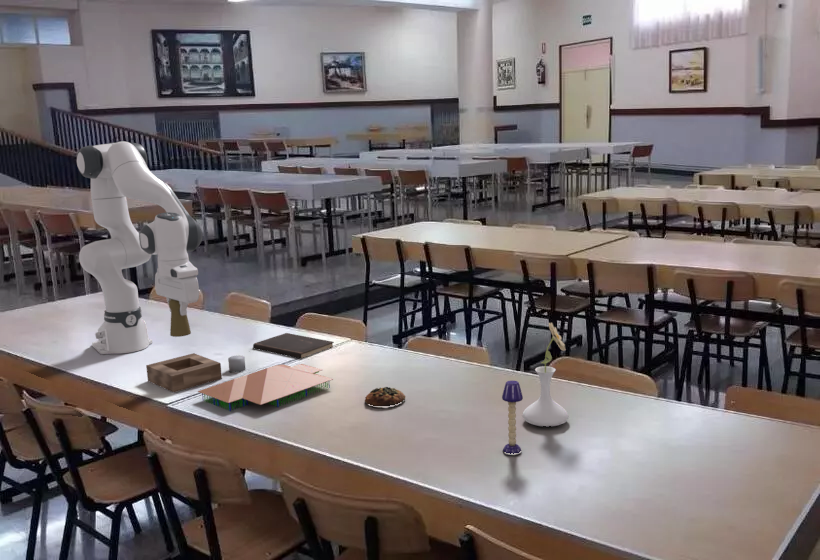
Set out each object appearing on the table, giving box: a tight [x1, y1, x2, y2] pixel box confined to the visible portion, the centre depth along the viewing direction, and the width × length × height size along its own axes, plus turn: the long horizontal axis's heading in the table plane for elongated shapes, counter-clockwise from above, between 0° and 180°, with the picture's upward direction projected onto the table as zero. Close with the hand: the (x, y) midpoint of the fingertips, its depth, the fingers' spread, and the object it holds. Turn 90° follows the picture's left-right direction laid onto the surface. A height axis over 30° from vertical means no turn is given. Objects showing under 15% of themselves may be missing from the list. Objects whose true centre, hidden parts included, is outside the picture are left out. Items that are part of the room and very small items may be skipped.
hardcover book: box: [252, 332, 335, 359], centre depth 268 cm, size 16×23×2 cm
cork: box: [168, 299, 192, 338], centre depth 234 cm, size 6×6×11 cm
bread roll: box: [364, 386, 406, 407], centre depth 214 cm, size 11×11×5 cm
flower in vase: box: [521, 322, 570, 428], centre depth 194 cm, size 13×11×25 cm
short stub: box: [227, 354, 246, 373], centre depth 246 cm, size 5×5×4 cm
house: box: [197, 363, 334, 412], centre depth 223 cm, size 23×33×8 cm
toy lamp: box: [501, 380, 523, 454], centre depth 177 cm, size 5×5×17 cm
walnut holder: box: [146, 352, 223, 393], centre depth 237 cm, size 16×16×5 cm
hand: (178, 313), depth 234 cm, fingers closed on cork, 4 cm apart
